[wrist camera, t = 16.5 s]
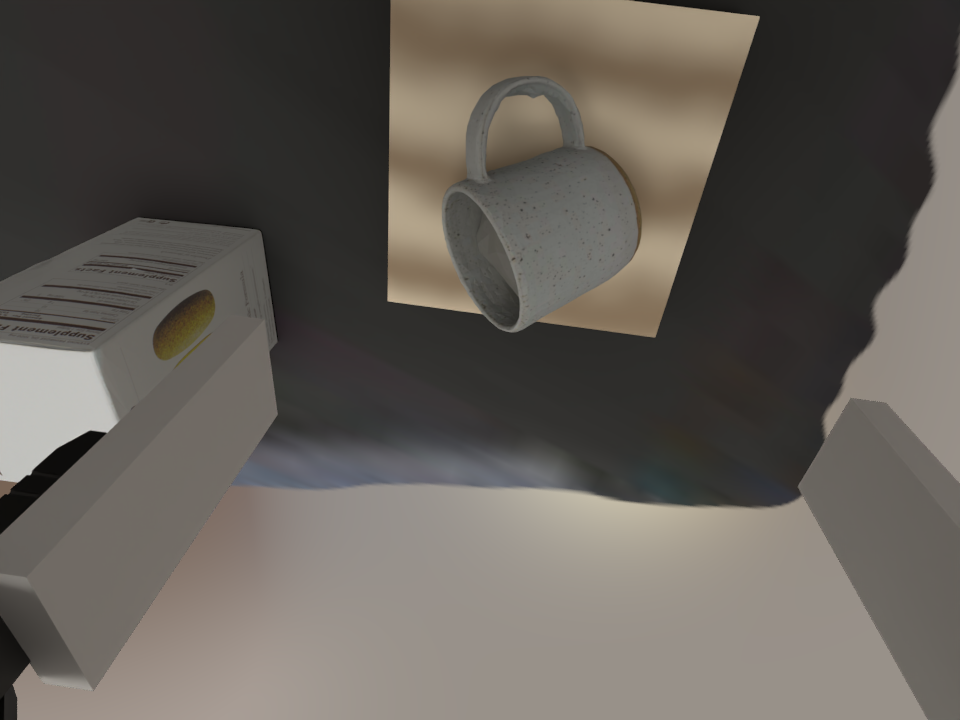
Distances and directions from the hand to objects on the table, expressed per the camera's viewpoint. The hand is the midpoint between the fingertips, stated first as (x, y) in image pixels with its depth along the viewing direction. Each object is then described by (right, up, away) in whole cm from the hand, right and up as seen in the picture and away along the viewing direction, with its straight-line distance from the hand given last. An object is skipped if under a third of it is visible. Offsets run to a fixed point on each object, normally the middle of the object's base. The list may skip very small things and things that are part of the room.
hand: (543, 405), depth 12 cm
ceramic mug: (+2, +12, +18) cm, 22 cm away
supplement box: (-22, +7, +28) cm, 36 cm away
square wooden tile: (+2, +13, +21) cm, 25 cm away
